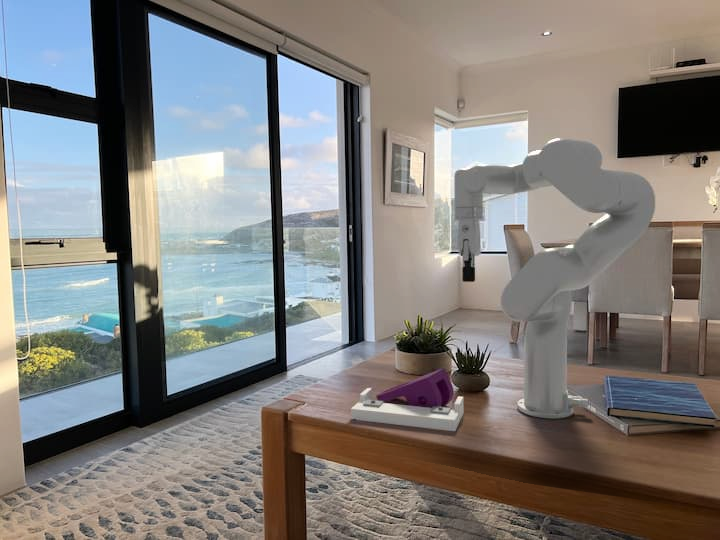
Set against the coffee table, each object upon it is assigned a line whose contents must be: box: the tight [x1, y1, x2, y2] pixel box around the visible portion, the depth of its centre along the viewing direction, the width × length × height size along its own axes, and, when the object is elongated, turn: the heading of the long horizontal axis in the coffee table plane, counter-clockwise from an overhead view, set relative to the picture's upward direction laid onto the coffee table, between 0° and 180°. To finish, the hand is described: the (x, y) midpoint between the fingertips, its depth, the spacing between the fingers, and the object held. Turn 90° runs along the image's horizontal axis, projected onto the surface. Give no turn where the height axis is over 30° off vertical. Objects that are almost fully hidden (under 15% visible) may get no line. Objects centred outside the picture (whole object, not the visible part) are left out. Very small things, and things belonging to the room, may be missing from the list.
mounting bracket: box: [375, 367, 455, 408], centre depth 126 cm, size 9×8×18 cm
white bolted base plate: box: [350, 387, 464, 432], centre depth 119 cm, size 24×12×4 cm, turn 70°
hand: (468, 281), depth 140 cm, fingers closed
